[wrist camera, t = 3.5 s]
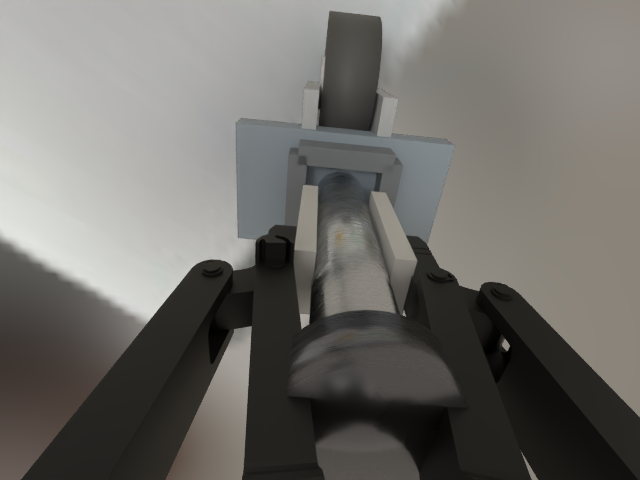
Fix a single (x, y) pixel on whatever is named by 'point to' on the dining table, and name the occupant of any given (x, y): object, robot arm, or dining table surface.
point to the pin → (365, 353)
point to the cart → (339, 142)
